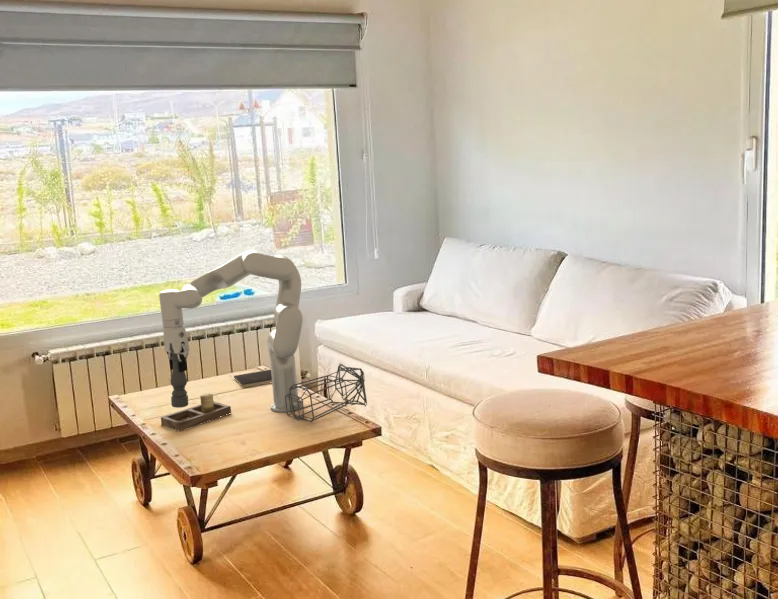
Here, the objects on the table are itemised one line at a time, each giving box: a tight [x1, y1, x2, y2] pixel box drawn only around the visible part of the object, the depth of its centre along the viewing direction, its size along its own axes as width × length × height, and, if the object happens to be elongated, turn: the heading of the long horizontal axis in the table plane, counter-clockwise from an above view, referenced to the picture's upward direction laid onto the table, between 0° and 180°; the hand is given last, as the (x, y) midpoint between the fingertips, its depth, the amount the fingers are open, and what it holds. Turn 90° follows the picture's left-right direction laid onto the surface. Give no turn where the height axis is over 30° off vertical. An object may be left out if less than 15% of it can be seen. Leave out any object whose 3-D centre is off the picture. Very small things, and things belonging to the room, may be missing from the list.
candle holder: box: [169, 343, 189, 409], centre depth 325 cm, size 6×6×25 cm
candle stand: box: [160, 393, 232, 432], centre depth 332 cm, size 12×23×8 cm, turn 136°
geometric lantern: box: [285, 363, 368, 423], centre depth 330 cm, size 16×16×35 cm
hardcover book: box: [233, 369, 272, 388], centre depth 381 cm, size 16×23×2 cm
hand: (178, 369), depth 325 cm, fingers closed on candle holder, 5 cm apart
